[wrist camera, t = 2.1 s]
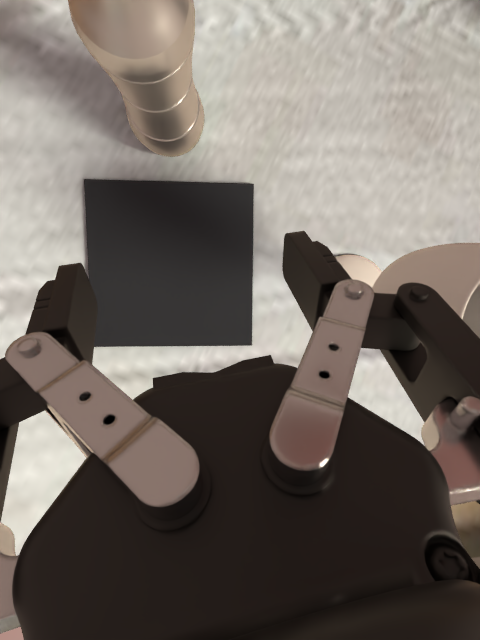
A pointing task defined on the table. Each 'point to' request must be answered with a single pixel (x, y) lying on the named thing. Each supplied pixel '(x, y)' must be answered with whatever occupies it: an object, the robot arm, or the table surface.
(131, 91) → the plastic bottle
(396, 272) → the wineglass
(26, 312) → the table surface
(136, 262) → the felt mat
